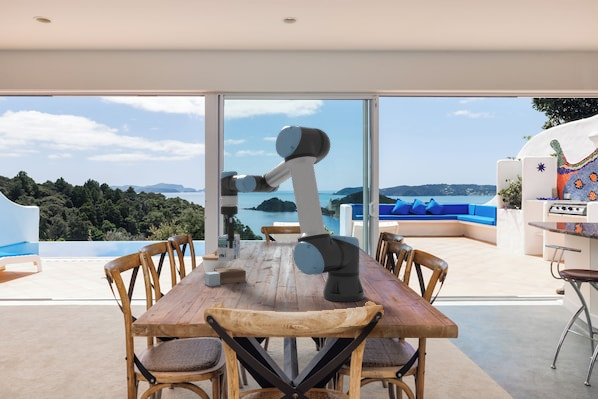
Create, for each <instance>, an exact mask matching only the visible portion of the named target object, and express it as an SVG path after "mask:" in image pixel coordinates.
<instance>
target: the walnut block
mask: <svg viewBox="0 0 598 399" xmlns="http://www.w3.org/2000/svg"><path fill="white" fill-rule="evenodd" d="M214 272H218V273H220V284H229V283H230V284H231V283H232V284H233V283H243V282H244V283H246V282H247V281H246V280H247V279H246V278H247V276H246V275H247V274H246V273H247V270H245V269H244V268H242V267H241V266H228V267H225V268H214Z"/></svg>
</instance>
